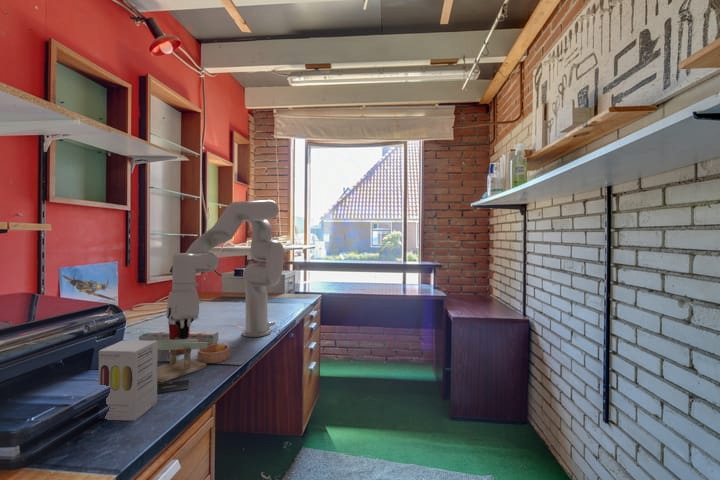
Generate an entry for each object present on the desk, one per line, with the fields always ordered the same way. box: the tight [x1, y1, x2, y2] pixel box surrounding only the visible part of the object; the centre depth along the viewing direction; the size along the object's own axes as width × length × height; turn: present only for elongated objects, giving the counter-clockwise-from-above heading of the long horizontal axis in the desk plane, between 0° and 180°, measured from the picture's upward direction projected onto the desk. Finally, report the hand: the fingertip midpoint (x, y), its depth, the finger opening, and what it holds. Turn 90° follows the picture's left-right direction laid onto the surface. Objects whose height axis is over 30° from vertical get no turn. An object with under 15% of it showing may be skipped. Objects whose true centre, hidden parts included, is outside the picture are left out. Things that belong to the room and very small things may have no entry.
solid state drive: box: [157, 379, 190, 395], centre depth 102 cm, size 7×10×1 cm
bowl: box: [197, 343, 230, 364], centre depth 126 cm, size 10×10×4 cm
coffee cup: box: [167, 318, 191, 355], centre depth 133 cm, size 8×8×15 cm
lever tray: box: [151, 337, 209, 363], centre depth 118 cm, size 17×15×6 cm
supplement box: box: [97, 339, 158, 422], centre depth 88 cm, size 10×9×17 cm
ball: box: [215, 343, 226, 352], centre depth 128 cm, size 4×4×4 cm
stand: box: [157, 347, 208, 383], centre depth 114 cm, size 15×11×8 cm
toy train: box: [138, 329, 219, 345], centre depth 143 cm, size 5×32×5 cm, turn 87°
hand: (183, 337), depth 126 cm, fingers closed
